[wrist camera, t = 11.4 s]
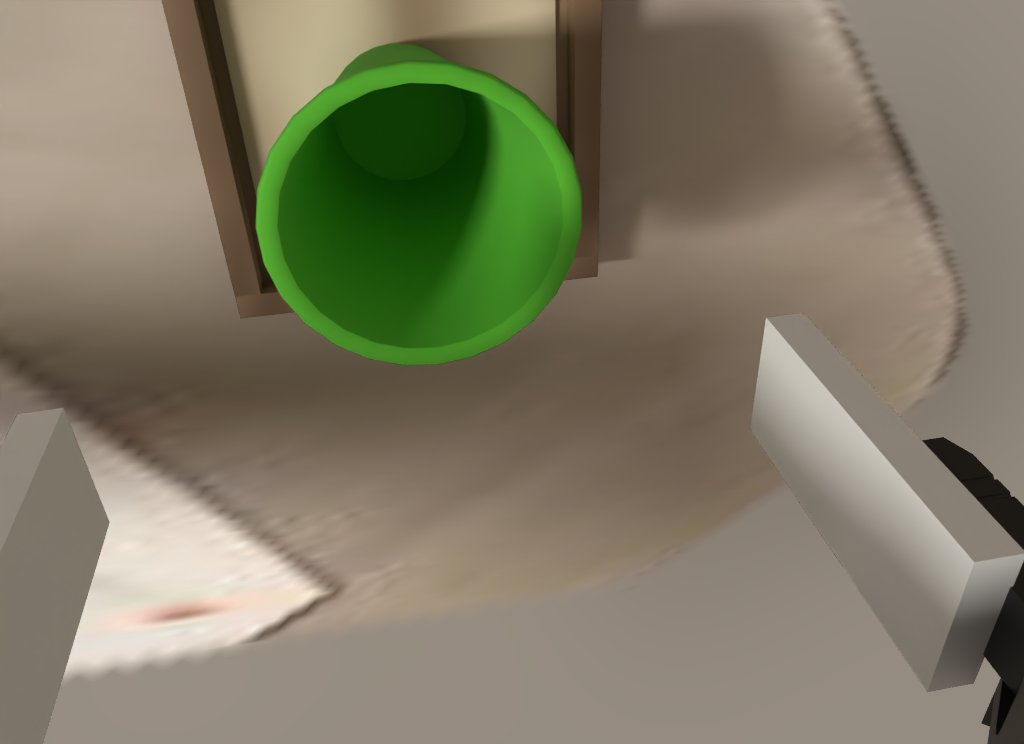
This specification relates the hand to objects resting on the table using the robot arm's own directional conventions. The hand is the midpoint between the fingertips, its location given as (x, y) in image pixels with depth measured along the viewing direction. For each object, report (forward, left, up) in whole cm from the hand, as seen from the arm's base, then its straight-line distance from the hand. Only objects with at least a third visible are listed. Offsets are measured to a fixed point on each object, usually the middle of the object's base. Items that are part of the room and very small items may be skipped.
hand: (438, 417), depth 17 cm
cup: (+1, 0, -20) cm, 20 cm away
